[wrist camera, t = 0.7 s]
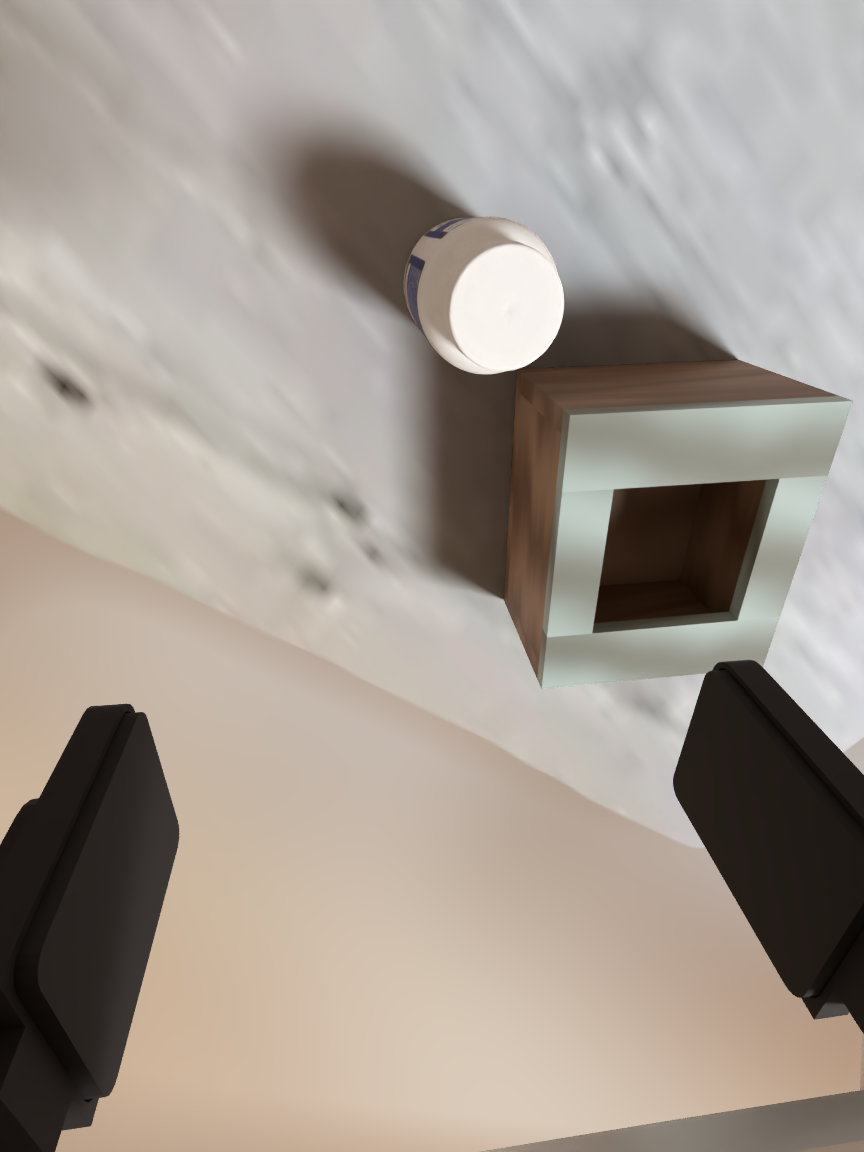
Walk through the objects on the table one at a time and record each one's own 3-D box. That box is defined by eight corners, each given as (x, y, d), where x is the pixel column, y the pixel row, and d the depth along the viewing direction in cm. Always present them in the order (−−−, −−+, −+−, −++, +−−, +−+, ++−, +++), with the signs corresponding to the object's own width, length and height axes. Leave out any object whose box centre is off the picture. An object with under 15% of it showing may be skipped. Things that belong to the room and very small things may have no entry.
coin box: (517, 369, 31) (569, 415, 24) (738, 360, 32) (852, 400, 25) (503, 600, 38) (541, 689, 31) (685, 585, 39) (762, 667, 32)
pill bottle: (469, 366, 31) (517, 422, 22) (380, 298, 28) (396, 332, 20) (538, 268, 29) (619, 289, 20) (448, 188, 27) (497, 175, 18)
